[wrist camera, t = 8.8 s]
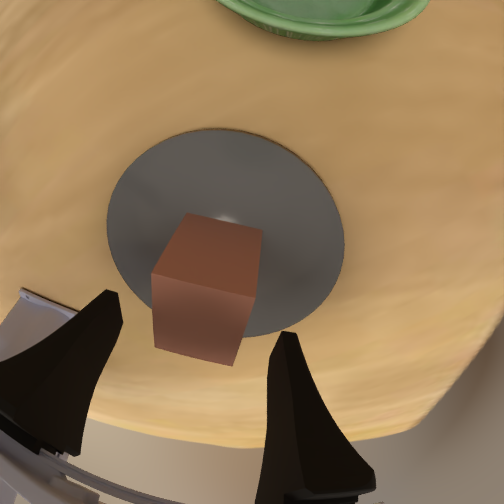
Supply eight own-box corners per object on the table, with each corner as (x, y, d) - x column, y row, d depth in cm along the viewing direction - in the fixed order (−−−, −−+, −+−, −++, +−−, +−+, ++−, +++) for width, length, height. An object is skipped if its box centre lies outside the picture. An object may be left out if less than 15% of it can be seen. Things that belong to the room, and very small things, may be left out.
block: (180, 283, 17) (154, 347, 13) (186, 212, 14) (151, 272, 10) (242, 298, 17) (232, 366, 13) (262, 230, 14) (255, 298, 10)
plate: (122, 303, 20) (118, 310, 19) (113, 114, 12) (105, 117, 11) (298, 343, 21) (298, 351, 20) (378, 169, 13) (384, 174, 12)
